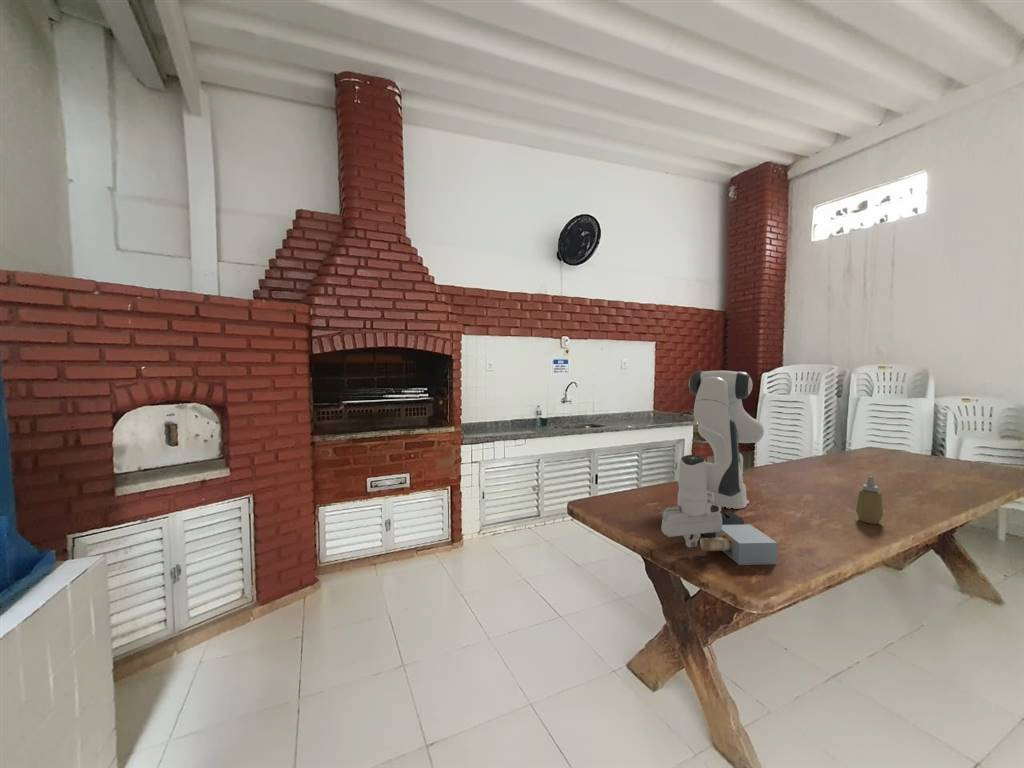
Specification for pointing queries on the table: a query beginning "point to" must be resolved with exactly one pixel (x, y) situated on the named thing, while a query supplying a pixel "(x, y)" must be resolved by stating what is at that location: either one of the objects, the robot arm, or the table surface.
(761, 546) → the socket block
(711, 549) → the dowel peg
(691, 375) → the robot arm
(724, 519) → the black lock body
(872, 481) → the squeeze bottle
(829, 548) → the table surface
